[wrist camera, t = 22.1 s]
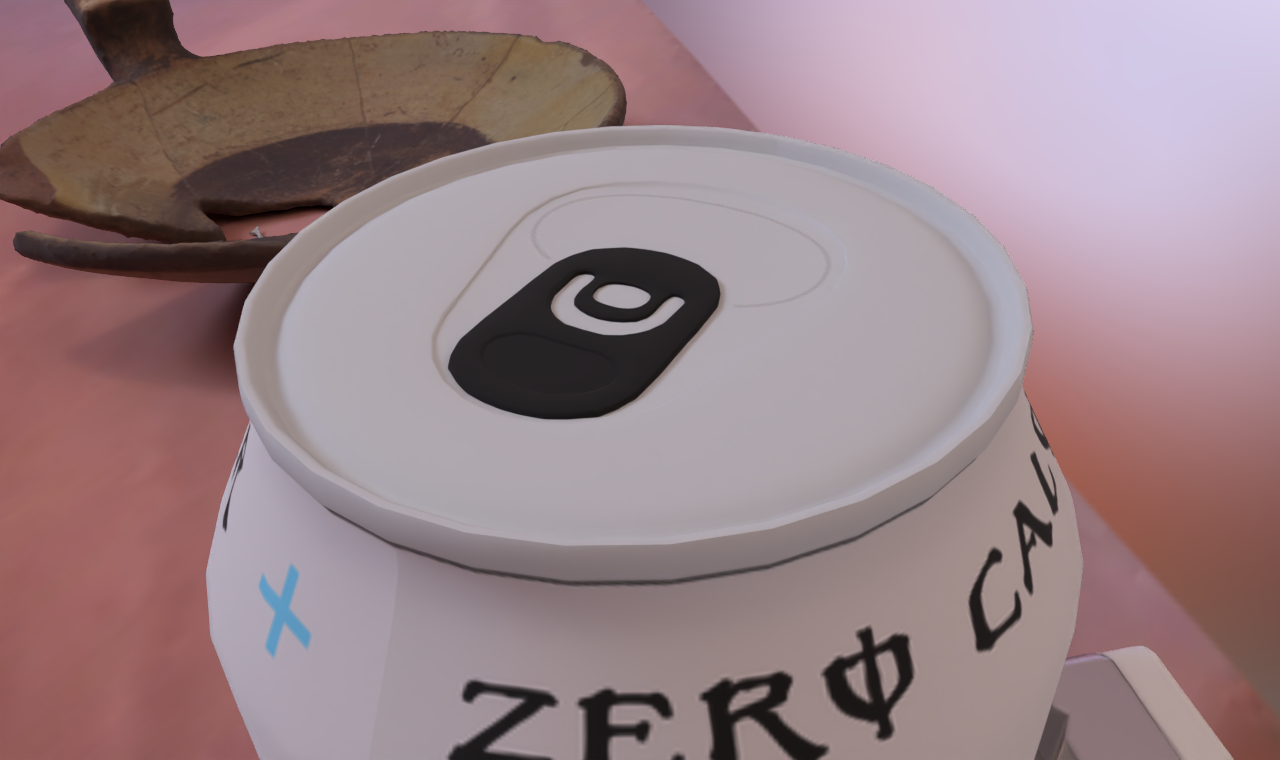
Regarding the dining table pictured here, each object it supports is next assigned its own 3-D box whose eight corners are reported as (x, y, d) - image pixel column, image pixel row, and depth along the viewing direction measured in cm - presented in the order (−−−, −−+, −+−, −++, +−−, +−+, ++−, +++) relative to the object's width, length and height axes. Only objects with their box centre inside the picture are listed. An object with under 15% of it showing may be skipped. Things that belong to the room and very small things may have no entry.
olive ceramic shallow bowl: (64, 507, 28) (-57, 256, 24) (11, 137, 50) (-57, -31, 45) (757, 281, 36) (765, 64, 32) (454, 48, 58) (433, -100, 54)
